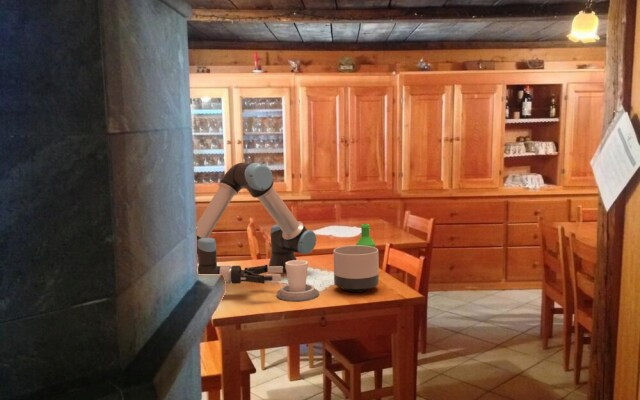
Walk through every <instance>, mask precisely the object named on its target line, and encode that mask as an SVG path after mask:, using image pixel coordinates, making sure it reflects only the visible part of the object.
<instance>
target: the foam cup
mask: <svg viewBox="0 0 640 400" xmlns="http://www.w3.org/2000/svg"><path fill="white" fill-rule="evenodd" d="M308 262H309V261H307V260H303V259H302V260H300V259H296V260H292V261H288V262H286V263H285V268H286V278H287V282H288V284H289V290H290V292H304V291H305V287H306V284H307V276H308V268H309V263H308ZM288 284H287V285H288Z"/></svg>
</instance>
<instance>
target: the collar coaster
mask: <svg viewBox="0 0 640 400" xmlns="http://www.w3.org/2000/svg"><path fill="white" fill-rule="evenodd" d="M319 296H320V291H319V290H318V289H316V287H315V285H313V284H310V283H306V287H305V291H304V292H290V290H289V284H285V285H282V286H281V287H280V288H279V290H278V291H277V292H276V298H277V299H279V300H281V301H286V302H307V301H310V300H314V299H316V298H318V297H319Z"/></svg>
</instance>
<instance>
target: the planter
mask: <svg viewBox="0 0 640 400" xmlns="http://www.w3.org/2000/svg"><path fill="white" fill-rule="evenodd" d="M332 251H333V284H334V285H335V286H336V287H338V288H340V289H343V290H345V291H347V292H350V293H363V292H366V291H369V290H370V289H372V288H375V287H377V286H378V285H379V281H380V279H379V278H380V277H379V275H380V274H379V270H380V268H379V249H378V247H376V246H375V247H371V246H363V245H356V244H351V245H343V246H339V247H336V248H334V249H333V250H332Z"/></svg>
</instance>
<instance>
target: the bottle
mask: <svg viewBox="0 0 640 400" xmlns="http://www.w3.org/2000/svg"><path fill="white" fill-rule="evenodd" d="M370 228H371V226H370V224H369V223H362V224H361V225H360V229H361V233H360V234H361V236H360V237H359V239H358V241H357V242H356V244H355V245H363V246H371V247H375V248H376V243H375V242H374V240H373V239H372V237H371V236H370Z"/></svg>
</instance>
